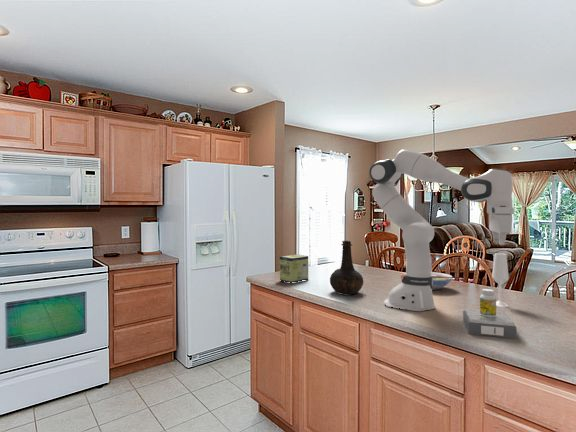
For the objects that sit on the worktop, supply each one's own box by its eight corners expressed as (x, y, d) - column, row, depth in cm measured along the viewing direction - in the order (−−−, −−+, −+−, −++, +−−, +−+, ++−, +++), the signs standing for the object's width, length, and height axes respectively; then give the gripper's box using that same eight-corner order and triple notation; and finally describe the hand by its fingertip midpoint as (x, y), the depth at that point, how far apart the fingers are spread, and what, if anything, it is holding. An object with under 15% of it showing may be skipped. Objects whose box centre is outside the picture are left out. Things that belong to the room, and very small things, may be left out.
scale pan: (470, 322, 130) (470, 319, 130) (464, 311, 143) (464, 308, 143) (514, 326, 125) (514, 323, 125) (504, 314, 138) (504, 311, 138)
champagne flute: (511, 306, 164) (512, 254, 164) (498, 307, 163) (499, 254, 163) (500, 302, 171) (501, 252, 170) (488, 303, 170) (488, 252, 169)
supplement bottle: (499, 316, 133) (499, 290, 132) (489, 318, 130) (489, 292, 130) (486, 312, 138) (486, 287, 137) (476, 314, 135) (476, 289, 135)
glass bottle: (347, 287, 204) (347, 238, 203) (370, 293, 189) (370, 241, 188) (322, 291, 194) (322, 240, 193) (345, 298, 179) (345, 243, 178)
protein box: (279, 281, 221) (279, 256, 220) (297, 278, 231) (297, 254, 231) (290, 284, 213) (290, 258, 213) (308, 280, 224) (308, 255, 223)
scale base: (468, 334, 129) (468, 323, 129) (462, 321, 144) (463, 311, 144) (516, 339, 124) (516, 327, 124) (505, 325, 139) (505, 314, 139)
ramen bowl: (446, 284, 211) (446, 270, 211) (461, 293, 189) (461, 278, 188) (403, 283, 214) (403, 270, 214) (412, 292, 191) (412, 277, 191)
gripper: (485, 209, 154) (485, 241, 155) (496, 209, 135) (495, 246, 135) (502, 209, 152) (501, 241, 153) (515, 209, 133) (514, 246, 133)
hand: (498, 243), depth 144 cm, fingers open, 8 cm apart
